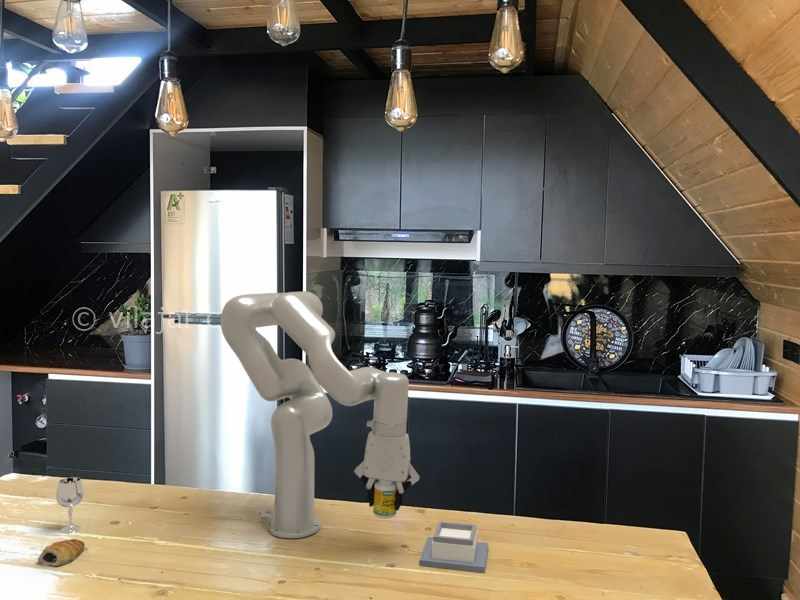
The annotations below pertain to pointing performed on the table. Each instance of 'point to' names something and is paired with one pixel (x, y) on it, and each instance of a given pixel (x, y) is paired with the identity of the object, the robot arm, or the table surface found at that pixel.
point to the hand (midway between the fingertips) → (385, 505)
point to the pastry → (61, 552)
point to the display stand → (455, 548)
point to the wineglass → (70, 499)
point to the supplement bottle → (385, 499)
